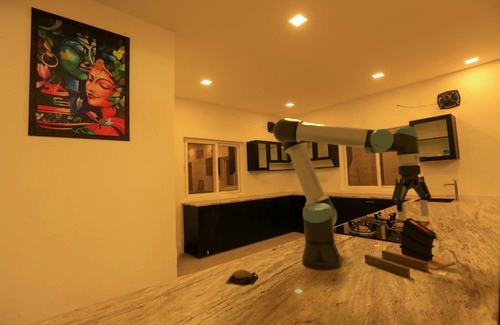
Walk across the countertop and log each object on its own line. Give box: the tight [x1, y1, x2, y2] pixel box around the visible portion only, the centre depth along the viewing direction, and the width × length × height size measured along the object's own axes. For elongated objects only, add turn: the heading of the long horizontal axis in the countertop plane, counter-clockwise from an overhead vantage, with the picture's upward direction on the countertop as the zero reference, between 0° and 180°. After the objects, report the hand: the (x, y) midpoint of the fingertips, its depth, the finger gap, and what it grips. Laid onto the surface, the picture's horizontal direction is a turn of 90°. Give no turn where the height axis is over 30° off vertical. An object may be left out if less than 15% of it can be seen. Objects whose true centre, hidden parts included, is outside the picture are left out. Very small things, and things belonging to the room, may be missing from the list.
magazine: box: [399, 217, 438, 261], centre depth 95 cm, size 4×13×15 cm, turn 18°
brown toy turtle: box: [225, 269, 259, 286], centre depth 85 cm, size 11×8×4 cm
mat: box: [395, 250, 456, 271], centre depth 94 cm, size 12×18×1 cm, turn 22°
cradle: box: [364, 249, 430, 279], centre depth 88 cm, size 11×17×3 cm, turn 22°
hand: (413, 218), depth 95 cm, fingers open, 13 cm apart
